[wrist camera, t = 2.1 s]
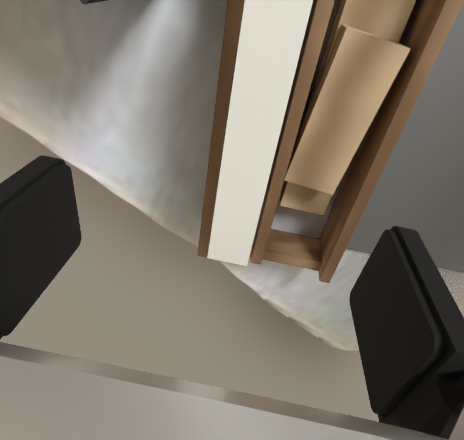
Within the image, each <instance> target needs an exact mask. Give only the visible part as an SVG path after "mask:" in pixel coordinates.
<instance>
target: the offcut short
mask: <svg viewBox="0 0 464 440" xmlns="http://www.w3.org/2000/svg"><path fill="white" fill-rule="evenodd" d="M409 51H410V48H408V47H407V46H405V45H403V44H401V43H399V42H395V41H392V40H389V39H386V38H383V37H380V36H377V35H374V34H371V33H368V32H365V31H361V30H358V29H355V28H352V27H349V26H346V25H343V24H342V26H341V28H340V31H339V33H338V36H337V38H336V40H335V43H334V45H333V48H332V50H331V53H330V55H329V58H328V60H327V63H326V65H325V68H324V70H323V73H322V75H321V78H320V80H319V83H318V85H317V88H316V90H315V93H314V95H313V98H312V100H311V103H310V105H309V108H308V110H307V113H306V115H305V118H304V120H303V123H302V125H301V128H300V130H299V133H298V135H297V138H296V140H295V143H294V147H293V150H292V154H291V158H290V161H289V165H288V168H287V172H286V175H285V179H284V180H285V181H288V182H292V183H295V184H298V185H302V186H305V187H308V188H311V189H315V190H318V191H321V192H325V193H328V194H331V195H333V194H334V192H335V190H336V188H337V186H338V184H339V182H340V181H341V179H342V177H343V175H344V173H345V171H346V169H347V167H348V166H349V164H350V162H351V160H352V158H353V156H354V154H355V152H356V151H357V149H358V147H359V145H360V143H361V141H362V139H363V137H364V136H365V134H366V132H367V130H368V128H369V126H370V124H371V122H372V121H373V119H374V117H375V115H376V113H377V111H378V109H379V107H380V106H381V104H382V102H383V100H384V98H385V96H386V94H387V92H388V91H389V89H390V87H391V85H392V83H393V81H394V79H395V77H396V76H397V74H398V72H399V70H400V68H401V66H402V64H403V62H404V61H405V59H406V57H407V55H408V53H409Z"/></svg>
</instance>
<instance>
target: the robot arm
mask: <svg viewBox="0 0 464 440" xmlns="http://www.w3.org/2000/svg"><path fill="white" fill-rule="evenodd" d="M80 242H81V231H80V224H79V217H78V211H77V204H76V198H75V192H74V185H73V179H72V173H71V168H70V167H69V166H67V165H66V163H65V162H64V160H62V159H58V158H53V157H48V156H39V157H37V158H36V159H35V160H33V161H32V162H30V163H29V164H27V165H26V166H25V167H23V168H22V169H20V170H19V171H18V172H16V173H15V174H13V175H12V176H10V177H9V178H8V179H6V180H5V181H3V182H2V183H1V184H0V339H1V337H3V336H6V335H9V334H10V333H11V332H12V331H13V329H14V328H15V327H16V326H17V325H18V323H19V322H20V321H21V319H22V318H23V317H24V316H25V314H26V313H27V312H28V310H29V309H30V308H31V307H32V305H33V304H34V303H35V302H36V300H37V299H38V298H39V297H40V295H41V294H42V293H43V291H44V290H45V289H46V288H47V286H48V285H49V284H50V283H51V281H52V280H53V279H54V277H55V276H56V275H57V274H58V272H59V271H60V270H61V268H62V267H63V266H64V265H65V263H66V262H67V261H68V260H69V258H70V257H71V256H72V254H73V253H74V252H75V250H76V249H77V248H78V246H79V245H80ZM350 306H351V311H352V316H353V321H354V326H355V331H356V336H357V341H358V346H359V351H360V355H361V360H362V365H363V370H364V375H365V379H366V385H367V390H368V395H369V400H370V405H371V408H372V410H373V412H374V413H376V414H378V418H379V422H376V421H371V420H367V419H363V418H358V417H354V416H350V415H345V414H341V413H336V412H332V411H327V410H322V409H318V408H312V407H308V406H304V405H299V404H294V403H290V402H285V401H280V400H276V399H271V398H266V397H261V396H257V395H252V394H248V393H243V392H238V391H233V390H229V389H224V388H219V387H214V386H210V385H205V384H200V383H196V382H191V381H186V380H181V379H176V378H171V377H167V376H162V375H157V374H152V373H148V372H143V371H138V370H133V369H128V368H124V367H118V366H114V365H109V364H105V363H99V362H95V361H90V360H85V359H80V358H75V357H70V356H65V355H61V354H56V353H51V352H46V351H40V350H36V349H31V348H26V347H21V346H16V345H12V344H7V343H2V342H0V440H464V318H463V316H462V314H461V312H460V310H459V308H458V306H457V305H456V303H455V301H454V299H453V297H452V295H451V293H450V291H449V290H448V288H447V286H446V284H445V282H444V280H443V278H442V277H441V275H440V273H439V271H438V269H437V267H436V265H435V263H434V262H433V260H432V258H431V256H430V254H429V252H428V250H427V249H426V247H425V245H424V243H423V241H422V239H421V237H420V235H419V234H418V232H417V231H416V230H414V229H409V228H404V227H399V226H393V227H392V228H391V229H390V230H388V229H387V230H385V231H384V232H383V233H382V235H381V237H380V239H379V241H378V243H377V244H376V246H375V248H374V250H373V252H372V254H371V255H370V257H369V259H368V261H367V263H366V265H365V266H364V268H363V270H362V272H361V274H360V276H359V278H358V279H357V281H356V283H355V285H354V287H353V289H352V291H351V293H350Z"/></svg>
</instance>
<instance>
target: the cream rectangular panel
mask: <svg viewBox="0 0 464 440" xmlns="http://www.w3.org/2000/svg"><path fill="white" fill-rule="evenodd" d="M312 3H313V0H245V2H244V9H243V16H242V22H241V29H240V36H239V43H238V50H237V57H236V64H235V71H234V78H233V85H232V91H231V98H230V105H229V112H228V119H227V126H226V133H225V140H224V147H223V154H222V161H221V167H220V174H219V181H218V188H217V195H216V202H215V209H214V216H213V223H212V230H211V236H210V243H209V250H208V257H207V258H209V259H214V260H219V261H224V262H228V263H233V264H238V265H243V266H247V264H248V260H249V256H250V252H251V248H252V244H253V240H254V236H255V232H256V228H257V224H258V220H259V216H260V212H261V208H262V204H263V200H264V196H265V192H266V188H267V184H268V180H269V176H270V172H271V168H272V164H273V160H274V156H275V152H276V148H277V144H278V140H279V136H280V132H281V128H282V124H283V120H284V116H285V111H286V107H287V103H288V99H289V95H290V91H291V87H292V83H293V79H294V75H295V71H296V67H297V63H298V59H299V55H300V51H301V47H302V43H303V39H304V35H305V31H306V27H307V23H308V19H309V15H310V11H311V7H312Z"/></svg>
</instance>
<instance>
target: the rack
mask: <svg viewBox="0 0 464 440" xmlns="http://www.w3.org/2000/svg"><path fill="white" fill-rule="evenodd" d="M334 1H335V0H313V3H312V7H311V11H310V15H309V19H308V23H307V27H306V31H305V35H304V39H303V43H302V47H301V51H300V55H299V59H298V63H297V67H296V71H295V75H294V79H293V83H292V87H291V91H290V95H289V99H288V103H287V107H286V111H285V116H284V120H283V124H282V128H281V132H280V136H279V140H278V144H277V148H276V152H275V156H274V160H273V164H272V168H271V172H270V176H269V180H268V184H267V188H266V192H265V196H264V200H263V204H262V208H261V212H260V216H259V220H258V224H257V228H256V232H255V236H254V240H253V244H252V248H251V252H250V257H252V258H251V262H252V263H257V264H261V260H262V259H264V260H269V261H274V262H279V263H283V264H288V265H293V266H298V267H303V268H307V269H312V270H317V271H319V280H320V281H322V282H327V283H329V282H330V280H331V278H332V276H333V274H334V272H335V270H336V268H337V266H338V263H339V261H340V259H341V257H342V255H343V253H344V251H345V249H346V247H347V245H348V243H349V240H350V238H351V236H352V234H353V232H354V230H355V228H356V226H357V224H358V222H359V220H360V217H361V215H362V213H363V211H364V209H365V207H366V205H367V203H368V201H369V199H370V197H371V195H372V192H373V190H374V188H375V186H376V184H377V182H378V180H379V178H380V176H381V174H382V172H383V169H384V167H385V165H386V163H387V161H388V159H389V157H390V155H391V153H392V151H393V149H394V147H395V144H396V142H397V140H398V138H399V136H400V134H401V132H402V130H403V128H404V126H405V124H406V121H407V119H408V117H409V115H410V113H411V111H412V109H413V107H414V105H415V103H416V101H417V98H418V96H419V94H420V92H421V90H422V88H423V86H424V84H425V82H426V80H427V78H428V76H429V73H430V71H431V69H432V67H433V65H434V63H435V61H436V59H437V57H438V55H439V53H440V50H441V48H442V46H443V44H444V42H445V40H446V38H447V36H448V34H449V32H450V30H451V28H452V25H453V23H454V21H455V19H456V17H457V15H458V13H459V11H460V9H461V7H462V5H463V2H464V0H416V2H415V4H414V7H413V9H412V12H411V14H410V17H409V19H408V22H407V24H406V27H405V29H404V31H403V34H402V36H401V39H400V41H399V43H401V44H403V45H405V46H407V47H408V48H410V51H409V53H408V55H407V57H406V59H405V61H404V62H403V64H402V66H401V68H400V70H399V72H398V74H397V76H396V77H395V79H394V81H393V83H392V85H391V87H390V89H389V91H388V92H387V94H386V96H385V98H384V100H383V102H382V104H381V106H380V107H379V109H378V111H377V113H376V115H375V117H374V119H373V121H372V122H371V124H370V126H369V128H368V130H367V132H366V134H365V136H364V137H363V139H362V141H361V143H360V145H359V147H358V149H357V151H356V152H355V154H354V156H353V158H352V160H351V162H350V165H349V167H348V170H347V172H346V175H345V177H344V179H343V182H342V184H341V187H340V189H339V192H338V194H337V197H336V199H335V202H334V204H333V207H332V209H331V212H330V214H329V216H328V219H327V221H326V224H325V226H324V229H323V231H322V234H321V236H320V239H316V238H311V237H306V236H302V235H297V234H292V233H287V232H282V231H277V230H273V229H271V225H272V221H273V218H274V214H275V211H276V207H277V204H278V200H279V197H280V193H281V189H282V186H283V182H284V179H285V175H286V172H287V168H288V165H289V161H290V158H291V154H292V150H293V147H294V143H295V140H296V136H297V133H298V129H299V126H300V122H301V119H302V115H303V111H304V108H305V104H306V101H307V97H308V94H309V90H310V87H311V83H312V79H313V76H314V72H315V69H316V65H317V62H318V58H319V55H320V51H321V48H322V44H323V40H324V37H325V33H326V30H327V26H328V23H329V19H330V16H331V12H332V9H333V5H334ZM244 2H245V0H228V5H227V13H226V22H225V30H224V38H223V47H222V55H221V63H220V72H219V80H218V88H217V97H216V105H215V114H214V122H213V130H212V139H211V147H210V155H209V164H208V172H207V181H206V189H205V197H204V206H203V214H202V222H201V231H200V239H199V247H198V256H203V257H207V255H208V250H209V243H210V236H211V230H212V223H213V216H214V209H215V202H216V195H217V188H218V181H219V174H220V167H221V161H222V154H223V147H224V140H225V133H226V126H227V119H228V112H229V105H230V98H231V91H232V85H233V78H234V71H235V64H236V57H237V50H238V43H239V36H240V29H241V22H242V16H243V9H244Z"/></svg>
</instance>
